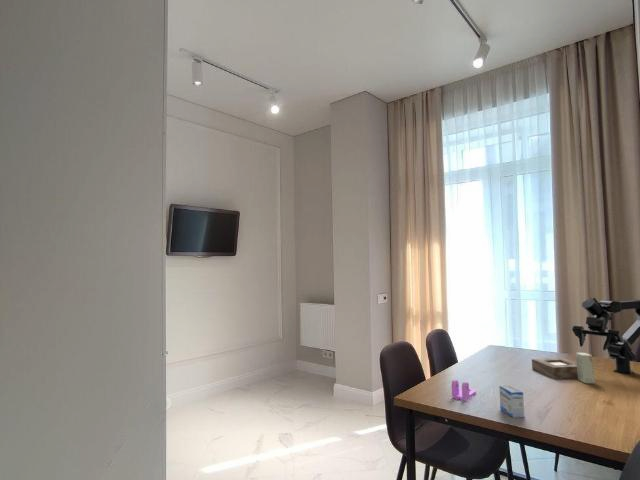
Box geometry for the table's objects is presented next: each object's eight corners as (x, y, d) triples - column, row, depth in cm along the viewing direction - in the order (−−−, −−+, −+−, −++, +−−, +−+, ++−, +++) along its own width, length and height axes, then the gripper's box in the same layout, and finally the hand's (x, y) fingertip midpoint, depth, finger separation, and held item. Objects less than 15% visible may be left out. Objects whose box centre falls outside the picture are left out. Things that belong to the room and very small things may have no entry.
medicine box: (500, 409, 136) (498, 385, 137) (511, 408, 137) (510, 384, 137) (513, 418, 128) (511, 392, 129) (525, 417, 129) (523, 392, 129)
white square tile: (560, 364, 184) (560, 362, 184) (572, 368, 176) (572, 366, 176) (544, 364, 183) (544, 362, 183) (556, 369, 175) (555, 367, 175)
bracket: (466, 401, 145) (465, 383, 146) (452, 398, 149) (451, 381, 149) (478, 392, 155) (477, 376, 155) (464, 390, 158) (463, 373, 159)
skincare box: (595, 384, 162) (593, 355, 163) (584, 383, 163) (582, 355, 164) (588, 379, 168) (585, 352, 169) (577, 379, 169) (575, 352, 170)
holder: (562, 367, 188) (561, 357, 188) (587, 377, 172) (586, 366, 172) (532, 369, 187) (531, 359, 187) (554, 378, 171) (553, 367, 171)
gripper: (572, 309, 183) (563, 334, 176) (618, 312, 167) (610, 340, 160) (580, 323, 186) (572, 348, 179) (626, 328, 171) (618, 356, 164)
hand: (592, 348), depth 171 cm, fingers open, 9 cm apart
